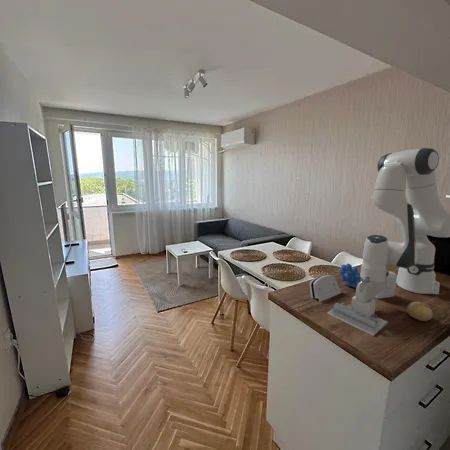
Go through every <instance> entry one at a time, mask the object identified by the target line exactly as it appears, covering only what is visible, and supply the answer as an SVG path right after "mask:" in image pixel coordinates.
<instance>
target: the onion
mask: <svg viewBox="0 0 450 450" xmlns="http://www.w3.org/2000/svg"><path fill="white" fill-rule="evenodd" d="M428 304H429V303H428V302H427V303H423V302H421V301H413V302H410V303H409V304H408V305H407V306H406V311H407V314H408V315H409V317H411V318H413V319H414V320H417V321H420V322H428V321H430V320H431V319H432V318H433V316H434V313H433V310H432V309H431V307H430V306H429V305H428Z"/></svg>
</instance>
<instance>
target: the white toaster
mask: <svg viewBox="0 0 450 450" xmlns="http://www.w3.org/2000/svg"><path fill="white" fill-rule="evenodd" d="M309 291H310V298H311V299H318V301H319V303H321V302H324V301H326V300H328V299H330V298H332V297H335V296H337V295H340V294H342V293H343V292H342V289H341V288H340V287H339V284H338V282H337V279H336V277H335V275H330V274H329V275H328V274H327V275H326V274H325V275H324V274H323V275H320V276H317V277H315V278H313V279H312V280H310V282H309Z"/></svg>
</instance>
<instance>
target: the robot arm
mask: <svg viewBox="0 0 450 450" xmlns="http://www.w3.org/2000/svg"><path fill="white" fill-rule="evenodd" d="M439 157H440V156H439V153H438V152H437V151H436V150H435V149H434V148H430V147H422V148H416V149H415V148H414V149H412V148H411V149H405V150H401V151H396V152H391V153H386V154H384V155H382V156H381V157H380V159H379V160H378V161H377V165H376V166H377V171H378V174H377V177H376V181H375V183H374V188H373V189H374V190H373V194H372V195H373V197H372V198H373V203H374V206H376V207H377V208H378V209H379V210H380V211H382V212H384V213H387V214H390V215H392V216H394V217H396V219H395V221H396V225H397V227H398V228H400V230H401V231H402V242H397V241H389V240H388V238H387V237H386V236H383V235H380V234H372V235H371V234H370V235H368V236H367V237H366V238H365V241H364V244H363V247H362V255H361V256H362V263H361V265H360V267H361V268H360V277H361V279H362V280H361V282H359V283H358V285H357V288H355V295H354V296H355V299H356V300H357V301H359V302H362V303H365V302H366V301H368V300H369V299H373V300H375V299H376V298H375V295H377V294H378V293H379V292H381V291H382V290H384V288H385V286H386V282H387V276H389V270H387V267H386V265H390V266H391V265H392V266H396V267H398V272H397V280H396V285H397V286H398V287H400V288H402V289H404V290H406V291H408V292H412V293H415V294H426V295H429V294H430V295H431V294H432V295H440V286H441V285H440V284H441V283H440V282H439V281H436V272H435V270H434V269H435V255H436V247H435V245H434V243H432V242H431V241H430V239H429V238H428V236H430V237H435V238H450V212H448V211H447V210H446V208H445V207H444V205H443V204H442V202H441V201H440V198H439V193H438V185H437V178H436V177H437V176H436V172H435V170H436V169H437V168H438V165H439V160H440V158H439Z"/></svg>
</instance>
